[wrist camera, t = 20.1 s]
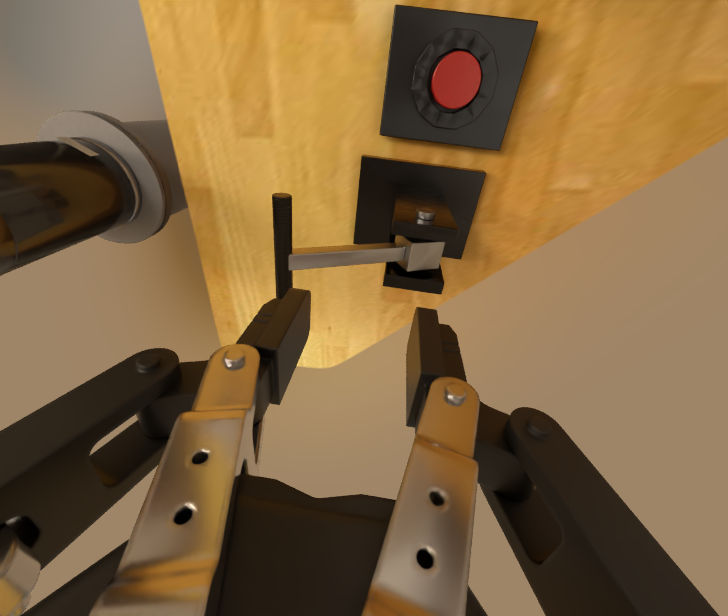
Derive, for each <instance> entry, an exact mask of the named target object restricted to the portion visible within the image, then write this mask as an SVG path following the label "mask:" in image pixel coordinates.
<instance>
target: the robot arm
mask: <svg viewBox="0 0 728 616" xmlns="http://www.w3.org/2000/svg"><path fill="white" fill-rule="evenodd" d="M56 138H58V139H60V140H52V141H39V142H28V143H19V144H7V145H0V276H1V275H3V274H5V273H8V272H10V271H12V270H15V269H17V268H20V267H22V266H25V265H27V264H30V263H32V262H34V261H37V260H39V259H42V258H44V257H46V256H49V255H51V254H54V253H56V252H58V251H60V250H63V249H66V248H68V247H70V246H73V245H75V244H77V243H80V242H82V241H85V240H87V239H89V238H92V237H94V236H97V235H99V234H102V233H104V232H107V231H109V230H111V229H114V228H116V227H121V226H124V225H126V224H128V223H131V222H132V221H134V220H135V219H136V218H137V216H138V215H139V213H140V211H141V207H142V193H141V189H140V185H139V183H138V180H137V178H136V176H135V174H134V172H133V171H132V169H131V168H130V166H129V165H128V164H127V162H126V161H125V160H124V159H123V158H122V157H121V156H120V155H119V154H118V153H117V152H116V151H114V150H113V149H112V148H111V147H109V146H108V145H106V144H104V143H102V142H100V141H98V140H95V139H92V138H88V137H71V138H68V137H66V136H65V137H56ZM310 309H311V293H310V291H309V290H303V289H296V288H289V290H288V291H287V293H286V294H285V296H284V297H283V299H275V298H274V299H272V300H271V301H269V302H267V303H266V304H264V305H263V306H262V308H261V309H260V310H259V312H258V314H257V315H256V316H255V317H254V319H253V322H251V323H250V324H249V326H248V327H247V329H246V330H245V331H244V333H243V334H242V335H241V337H240V338H239V340H238V341H237V342H236V344H232V345H228V346H225V347H222V348H220V349H218V350H217V351H216V352H214V353H213V354H212V356H211V357H210V359H209V360H207V361H196V362H182V363H180V362H179V358H178V356H177V354H176V353H175V352H174V351H172V350H169V349H165V348H154V349H148V350H144V351H141V352H139V353H137V354H134V355H133V356H131V357H129V358H127V359H125V360H124V361H122V362H120V363H118V364H117V365H115V366H113V367H112V368H110V369H108V370H106V371H105V372H103V373H101V374H99V375H98V376H96V377H94V378H92V379H91V380H89V381H87V382H85V383H84V384H82V385H80V386H78V387H77V388H75V389H73V390H71V391H70V392H68V393H66V394H64V395H63V396H61V397H59V398H57V399H56V400H54V401H52V402H51V403H49V404H47V405H45V406H43V407H42V408H40V409H38V410H36V411H35V412H33V413H32V414H30V415H28V416H26V417H24V418H22V419H21V420H19V421H17V422H16V423H14V424H12V425H10V426H9V427H7V428H5V429H4V430H1V431H0V616H487V614H486V612H485V611H484V609H483V608H482V606H481V605H480V603H479V601H478V600H477V598H476V597H475V595H474V594H473V592H472V591H471V589H470V587H469V586H468V578H469V568H470V556H471V546H472V535H473V524H474V513H475V503H476V491H477V483H479V484H480V487H481V489H482V491H483V493H484V495H485V496H486V499H487V501H488V503H489V505H490V507H491V509H492V511H493V513H494V515H495V517H496V519H497V521H498V523H499V525H500V526H501V528H502V530H503V532H504V534H505V536H506V538H507V540H508V542H509V544H510V546H511V548H512V550H513V552H514V554H515V556H516V558H517V560H518V562H519V564H520V566H521V568H522V570H523V572H524V574H525V576H526V578H527V580H528V582H529V584H530V586H531V588H532V589H533V592H534V593H535V595H536V597H537V599H538V601H539V603H540V605H541V607H542V609H543V611H544V613H545V615H546V616H719V615H718V614H717V613H716V611H715V610H714V609H713V608H712V607H711V605H710V604H709V603H708V602H707V601H706V599H705V598H704V597H703V596H702V595H701V594H700V592H699V591H698V590H697V589H696V587H695V586H694V585H693V584H692V583H691V581H690V580H689V579H688V578H687V577H686V576H685V574H684V573H683V572H682V571H681V570H680V568H679V567H678V566H677V565H676V564H675V562H674V561H673V560H672V559H671V558H670V556H669V555H668V554H667V553H666V552H665V551H664V549H663V548H662V547H661V546H660V545H659V543H658V542H657V541H656V540H655V539H654V538H653V536H652V535H651V534H650V533H649V531H648V530H647V529H646V528H645V527H644V525H643V524H642V523H641V522H640V521H639V519H638V518H637V517H636V516H635V515H634V513H633V512H632V511H631V510H630V509H629V508H628V506H627V505H626V504H625V503H624V502H623V500H622V499H621V498H620V497H619V496H618V494H617V493H616V492H615V491H614V490H613V488H612V487H611V486H610V485H609V484H608V482H607V481H606V480H605V479H604V478H603V476H602V475H601V474H600V473H599V472H598V471H597V469H596V468H595V467H594V466H593V465H592V463H591V462H590V461H589V460H588V459H587V457H586V456H585V455H584V454H583V453H582V451H581V450H580V449H579V448H578V447H577V445H576V444H575V443H574V442H573V441H572V440H571V438H570V437H569V436H568V435H567V434H566V432H565V431H564V430H563V429H562V427H561V426H559V424H558V423H557V422H556V421H555V420H554V419H552V418H551V417H550V416H548V415H547V414H545V413H543V412H541V411H539V410H536V409H533V408H528V407H522V408H517V409H515V410H514V411H513V412H512V413H511V415H508V414H506V413H503V412H500V411H498V410H495V409H493V408H491V407H489V406H487V405H485V404H484V403H482V402H481V401H480V399H479V396H478V394H477V392H476V391H475V389H474V388H473V387H472V386H471V385H469V384H468V383H467V380H466V376H465V371H464V367H463V362H462V357H461V354H460V348H459V346H458V340H457V335H456V333H455V332H454V331H453V330H452V328H451V327H450V326H449V325H445V324H439V322H438V315H437V310H434V309H427V308H421V307H416V310H415V313H414V318H413V322H412V327H411V331H410V335H409V340H408V345H407V354H406V373H407V374H406V382H407V383H406V403H407V404H406V426H408V427H415V439H414V443H413V446H412V449H411V453H410V456H409V459H408V462H407V466H406V469H405V472H404V476H403V479H402V482H401V486H400V489H399V493H398V495H397V499H396V500H392V499H387V498H381V497H375V496H368V495H363V494H359V495H348V496H338V497H328V498H314V497H311V496H309V495H307V494H305V493H303V492H301V491H299V490H297V489H295V488H293V487H291V486H289V485H286V484H285V483H282V482H280V481H278V480H276V479H270V478H264V477H259V476H258V474H259V465H260V456H261V448H262V440H263V431H264V422H265V412H266V410H267V407H268V405H269V403H271V404H277V405H280V403H281V400H282V398H283V396H284V393H285V391H286V389H287V386H288V384H289V382H290V379H291V377H292V374H293V372H294V370H295V368H296V365H297V363H298V360H299V358H300V356H301V353H302V351H303V349H304V346H305V344H306V342H307V339H308V335H309V330H310ZM135 414H136V416H137V418H138V420H137V421H136V422H135V423H133V424H132V425H130V426H129V427H128V428H126V429H125V430H124V431H122V432H121V433H120V434H119V435H117V436H116V437H114V438H113V439H112V440H110V441H109V442H108V443H106V444H105V445H104V446H102V447H101V448H100V449H98V450H97V451H96V452H94V453H93V454H91V455H90V452H91V450H92V448H93V447H94V445H95V444H96V443H97V442H98V441H99V440H101V439H102V438H103V437H104V436H106V435H107V434H109V433H110V432H111V431H113V430H114V429H115V428H117V427H118V426H120V425H121V424H123V423H124V422H125V421H127V420H128V419H129V418H131V417H132V416H134V415H135ZM89 455H90V456H89ZM157 465H158V468H157V470H156V473H155V475H154V478H153V480H152V483H151V485H150V488H149V491H148V493H147V496H146V498H145V501H144V503H143V506H142V508H141V511H140V513H139V516H138V519H137V521H136V524H135V526H134V529H133V531H132V534H131V537H130V539H129V540H127V541H126V542H124V543H123V544H121V545H120V546H118V547H117V548H116V549H114V550H113V551H111V552H110V553H109V554H107V555H106V556H105V557H103V558H102V559H100V560H99V561H97V562H96V563H94V564H93V565H91V566H90V567H89V568H87V569H86V570H84V571H83V572H82V573H80V574H79V575H77V576H76V577H74V578H73V579H72V580H70V581H69V582H67V583H66V584H64V585H63V586H62V587H60V588H59V589H57V590H56V591H55V592H53V593H52V594H50V595H49V596H47V597H46V598H44V599H43V600H42V601H40V602H39V603H37V604H36V605H35V606H33V607H32V608H30V609H29V610H27V611H26V612H24V613H23V611H24V610H25V609H26V607H27V606H28V604H29V602H30V598H31V594H30V593H31V591H32V590H33V588H34V586H35V584H36V582H37V580H38V577H39V574H40V571H41V570H42V569H43V568H44V567H45V566H46V565H47V564H48V563H49V562H51V561H52V560H53V559H54V558H55V557H56V556H57V555H58V554H60V553H61V552H62V551H63V550H64V549H65V548H66V547H67V546H68V545H69V544H71V543H72V542H73V541H74V540H75V539H76V538H77V537H78V536H80V535H81V534H82V533H83V532H84V531H85V530H86V529H87V528H88V527H90V526H91V525H92V524H93V523H94V522H95V521H96V520H97V519H98V518H100V517H101V516H102V515H103V514H104V513H105V512H106V511H107V510H109V509H110V508H111V507H112V506H113V505H114V504H115V503H116V502H117V501H118V500H120V499H121V498H122V497H123V496H124V495H125V494H126V493H127V492H129V491H130V490H131V489H132V488H133V487H134V486H135V485H136V484H137V483H139V482H140V481H141V480H142V479H143V478H144V477H145V476H146V475H147V474H148V473H150V471H152V470H153V469H154V468H155V467H156V466H157ZM22 613H23V614H22ZM21 614H22V615H21Z"/></svg>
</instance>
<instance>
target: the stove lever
mask: <svg viewBox="0 0 728 616" xmlns="http://www.w3.org/2000/svg"><path fill="white" fill-rule="evenodd" d="M272 204H273V229H274V253H275V277H276V299H283V297H284V296H285V294H286V293H287V291H288V290H289V288H293V270H301V269H313V268H324V267H336V266H347V265H359V264H370V263H382V262H394V261H396V262H397V263H398V264H399V265H400V266H401V267H403V268H404V269H405V270H406V271H407V272H409V271H419V270H428V269H438V268H439V264H440V260H441V257H442V253H443V249H444V245H445V242H440V241H433V240H426V239H419V238H412V237H405V236H398V235H396V238H395V242H394V243H378V244H361V245H345V246H328V247H312V248H295V249H292V196H291V195H290V194H286V193H275V194H273V195H272Z"/></svg>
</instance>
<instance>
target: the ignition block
mask: <svg viewBox="0 0 728 616" xmlns="http://www.w3.org/2000/svg"><path fill="white" fill-rule="evenodd" d="M537 25H538V21H533V20H524V19H515V18H507V17H498V16H490V15H481V14H473V13H464V12H456V11H447V10H439V9H430V8H422V7H413V6H404V5H395V9H394V18H393V26H392V35H391V43H390V51H389V60H388V68H387V77H386V85H385V94H384V102H383V110H382V119H381V127H380V135H383V136H390V137H398V138H406V139H413V140H421V141H428V142H436V143H443V144H451V145H459V146H466V147H474V148H481V149H489V150H497V151H499V150H500V148H501V145H502V141H503V138H504V135H505V131H506V128H507V125H508V121H509V118H510V115H511V111H512V108H513V105H514V101H515V98H516V95H517V91H518V88H519V85H520V81H521V78H522V75H523V71H524V68H525V65H526V61H527V58H528V55H529V51H530V48H531V45H532V41H533V38H534V35H535V31H536V28H537ZM456 51H464V52H468V53H470V54H471V55H473V56H474V57H475V58H476V60H477V61H478V63H479V65H480V69H481V82H480V86H479V89H478V91H477V93H476V95H475V96H474V98H473V99H472V100H471V101H470V102H469V103H468V104H466V105H465V106H463V107H460V108H457V109H448V108H444V107H442V106H440V105H439V104H438V103H437V102H436V101H435V99H434V97H433V95H432V91H431V79H432V75H433V72H434V70H435V68H436V67H437V65H438V64H439V63H440V61H441V60H442V59H443V58H444V57H446V56H447V55H449V54H450V53H453V52H456Z"/></svg>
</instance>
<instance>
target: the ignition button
mask: <svg viewBox="0 0 728 616" xmlns="http://www.w3.org/2000/svg"><path fill="white" fill-rule="evenodd" d="M480 82H481V69H480V65H479V63H478V61H477V60H476V58H475V57H474V56H473V55H471V54H470V53H468V52H464V51H456V52H453V53H450V54H449V55H447V56H446V57H444V58H443V59H442V60H441V61H440V63H439V64H438V65H437V67H436V68H435V70H434V72H433V75H432V79H431V91H432V95H433V97H434V99H435V101H436V102H437V103H438V104H439V105H440V106H442V107H444V108H448V109H457V108H460V107H463V106H465V105H466V104H468V103H469V102H470V101H471V100H472V99H473V98H474V96H475V95H476V93H477V91H478V89H479V86H480Z"/></svg>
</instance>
